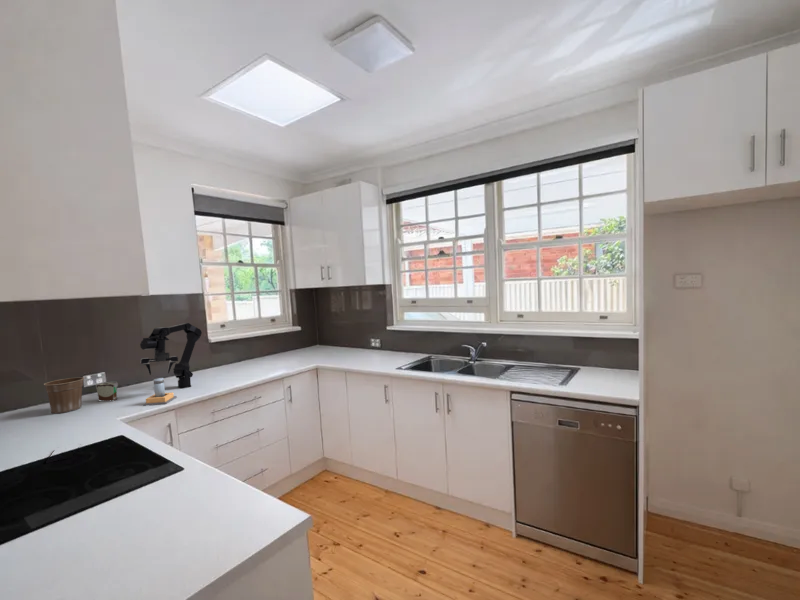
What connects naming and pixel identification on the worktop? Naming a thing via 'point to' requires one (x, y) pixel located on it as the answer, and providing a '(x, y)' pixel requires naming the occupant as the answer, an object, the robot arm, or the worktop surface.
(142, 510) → the worktop surface
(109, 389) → the food container
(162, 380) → the canister
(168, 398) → the dock
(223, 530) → the worktop surface
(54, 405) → the plant pot
